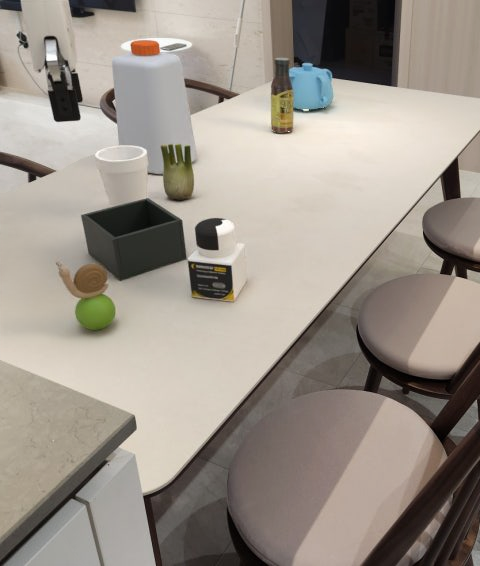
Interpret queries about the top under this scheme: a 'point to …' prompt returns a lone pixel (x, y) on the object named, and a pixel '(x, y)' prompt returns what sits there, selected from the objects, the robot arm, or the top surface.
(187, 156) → the fennel bulb
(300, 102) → the decorative pot
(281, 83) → the sauce bottle
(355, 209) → the top surface
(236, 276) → the medicine bottle
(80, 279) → the snail figurine
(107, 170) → the foam cup
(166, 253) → the bin
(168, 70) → the plastic bottle
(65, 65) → the robot arm
